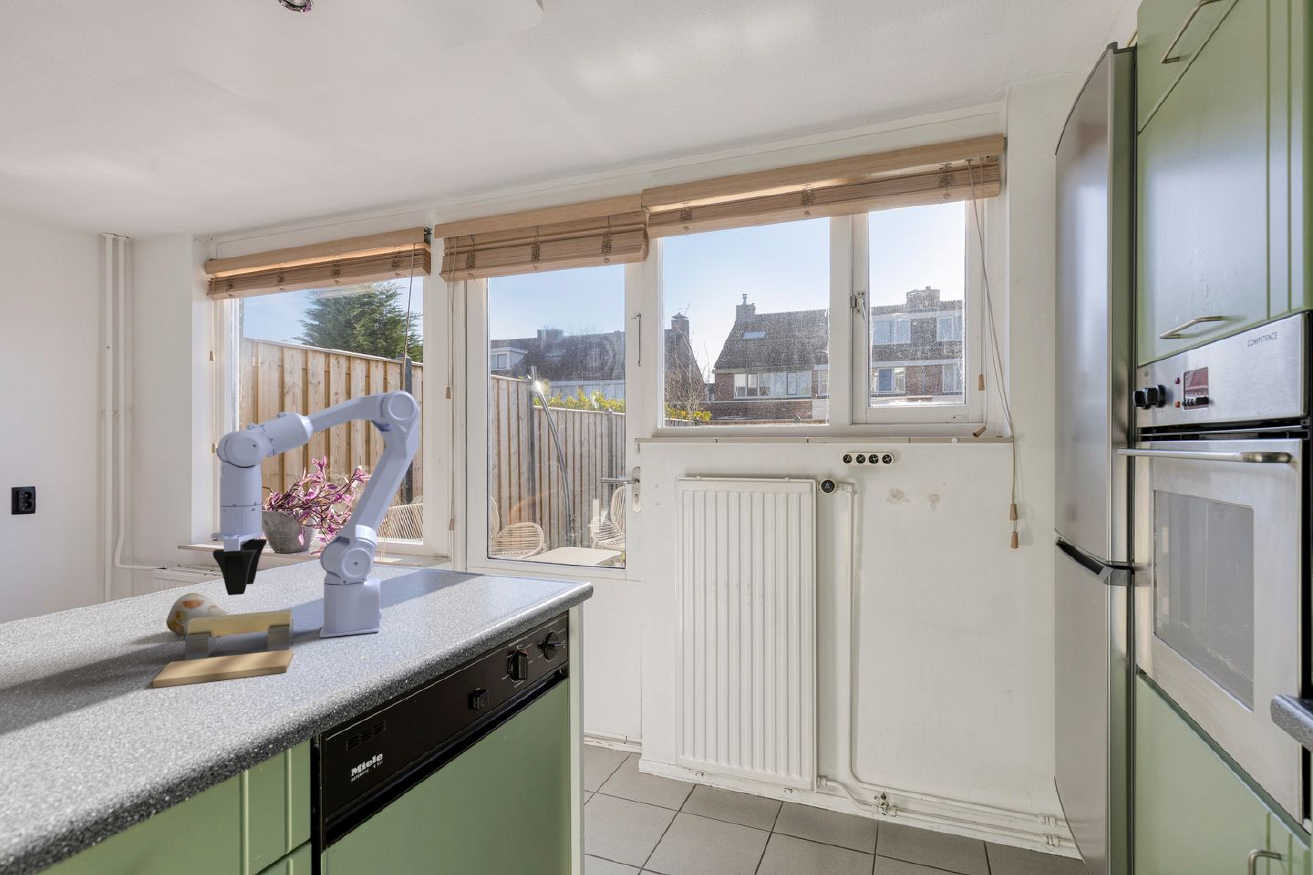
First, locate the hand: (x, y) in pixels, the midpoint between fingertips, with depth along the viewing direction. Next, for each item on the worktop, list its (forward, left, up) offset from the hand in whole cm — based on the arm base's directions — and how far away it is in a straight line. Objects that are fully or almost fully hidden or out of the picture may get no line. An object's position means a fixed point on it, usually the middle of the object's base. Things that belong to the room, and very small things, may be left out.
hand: (241, 589), depth 106 cm
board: (0, +10, -10) cm, 14 cm away
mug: (+8, -13, -10) cm, 18 cm away
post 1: (+5, 0, -10) cm, 11 cm away
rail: (0, 0, -7) cm, 7 cm away
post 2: (-6, 0, -10) cm, 11 cm away
